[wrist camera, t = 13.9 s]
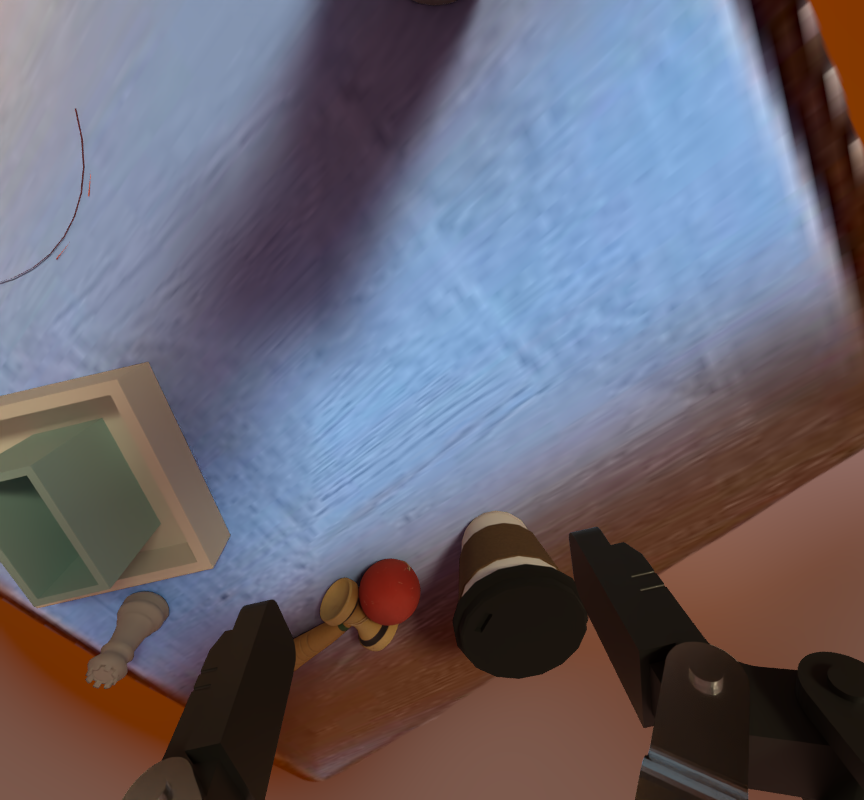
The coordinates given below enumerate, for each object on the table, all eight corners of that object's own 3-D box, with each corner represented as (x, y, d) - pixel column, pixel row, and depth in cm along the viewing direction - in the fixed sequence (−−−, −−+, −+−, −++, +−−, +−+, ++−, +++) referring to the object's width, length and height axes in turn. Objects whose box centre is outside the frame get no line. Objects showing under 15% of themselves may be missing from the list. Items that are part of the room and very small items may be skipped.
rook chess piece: (141, 581, 45) (91, 651, 38) (180, 604, 47) (139, 676, 39) (115, 606, 46) (61, 680, 39) (154, 628, 47) (109, 704, 40)
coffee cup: (423, 561, 47) (432, 666, 36) (468, 475, 44) (493, 562, 32) (515, 588, 49) (551, 695, 38) (565, 509, 46) (619, 601, 35)
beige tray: (-40, 405, 37) (-95, 428, 33) (148, 361, 37) (117, 379, 33) (70, 571, 44) (37, 608, 40) (230, 535, 44) (213, 568, 40)
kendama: (326, 655, 53) (443, 584, 47) (303, 707, 47) (433, 633, 41) (279, 609, 51) (393, 531, 46) (249, 657, 46) (376, 574, 40)
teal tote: (33, 434, 38) (-56, 486, 30) (102, 417, 38) (30, 465, 30) (98, 538, 42) (34, 606, 34) (161, 523, 42) (110, 588, 34)
